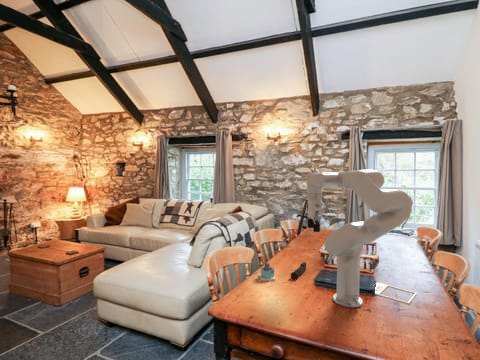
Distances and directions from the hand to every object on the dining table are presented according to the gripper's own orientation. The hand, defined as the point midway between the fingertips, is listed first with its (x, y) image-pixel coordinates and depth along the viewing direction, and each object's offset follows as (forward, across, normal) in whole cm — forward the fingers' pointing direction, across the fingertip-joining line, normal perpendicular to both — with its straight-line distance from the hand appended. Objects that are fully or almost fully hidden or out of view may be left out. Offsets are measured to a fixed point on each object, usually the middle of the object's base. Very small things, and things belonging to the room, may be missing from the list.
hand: (313, 229), depth 148 cm
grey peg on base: (+28, +8, +23) cm, 37 cm away
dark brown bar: (+29, +14, +4) cm, 32 cm away
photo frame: (+29, -12, -35) cm, 47 cm away
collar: (+27, +8, +23) cm, 37 cm away
